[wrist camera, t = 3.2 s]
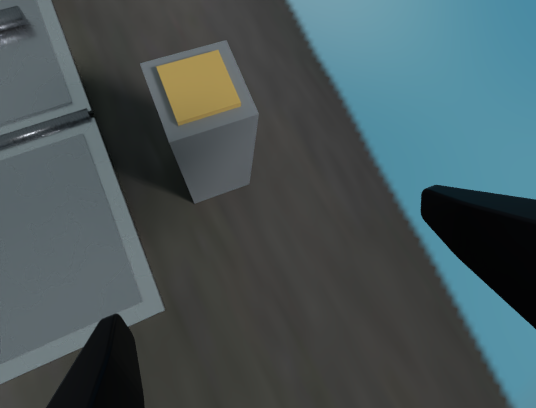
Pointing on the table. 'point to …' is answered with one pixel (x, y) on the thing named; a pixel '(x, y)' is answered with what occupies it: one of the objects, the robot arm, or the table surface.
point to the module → (205, 117)
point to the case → (58, 203)
